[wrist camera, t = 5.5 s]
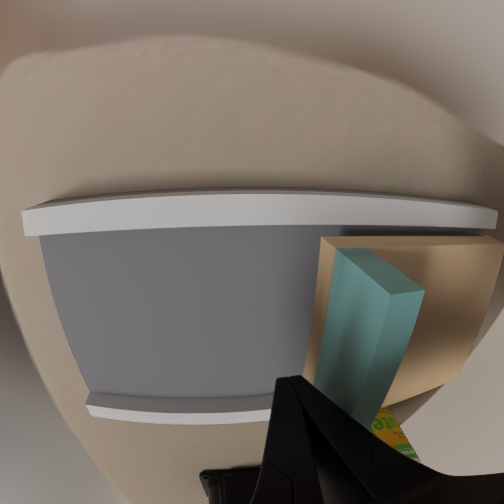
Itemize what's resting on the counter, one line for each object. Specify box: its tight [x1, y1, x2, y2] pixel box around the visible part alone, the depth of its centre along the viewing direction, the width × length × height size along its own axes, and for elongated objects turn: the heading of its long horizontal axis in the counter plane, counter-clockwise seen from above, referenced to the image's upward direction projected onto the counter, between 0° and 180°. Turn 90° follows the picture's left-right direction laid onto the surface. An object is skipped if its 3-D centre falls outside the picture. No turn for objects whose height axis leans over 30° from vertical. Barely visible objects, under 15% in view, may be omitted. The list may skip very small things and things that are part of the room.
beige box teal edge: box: [303, 236, 504, 430], centre depth 9 cm, size 8×10×5 cm
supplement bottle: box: [369, 406, 422, 464], centre depth 11 cm, size 5×5×10 cm
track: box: [21, 187, 498, 424], centre depth 11 cm, size 11×22×2 cm, turn 89°
